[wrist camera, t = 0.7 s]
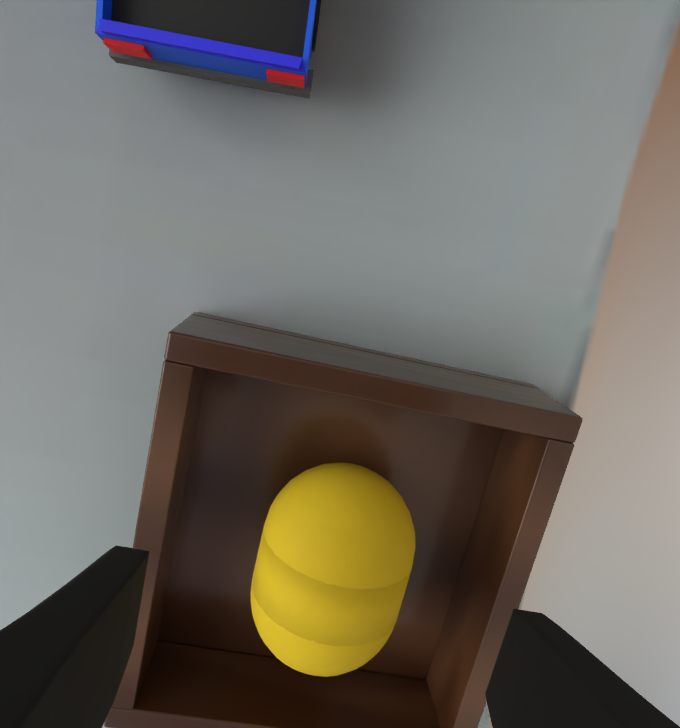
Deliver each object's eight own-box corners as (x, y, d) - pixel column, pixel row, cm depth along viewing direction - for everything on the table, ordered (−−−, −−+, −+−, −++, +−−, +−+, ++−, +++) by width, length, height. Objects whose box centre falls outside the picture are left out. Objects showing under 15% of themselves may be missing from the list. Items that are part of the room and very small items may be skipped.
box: (437, 688, 22) (462, 773, 18) (135, 644, 20) (102, 728, 17) (533, 384, 19) (584, 418, 16) (194, 311, 18) (168, 331, 14)
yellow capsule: (371, 615, 20) (390, 725, 16) (245, 595, 20) (228, 703, 15) (416, 454, 19) (451, 523, 14) (282, 428, 18) (275, 492, 14)
